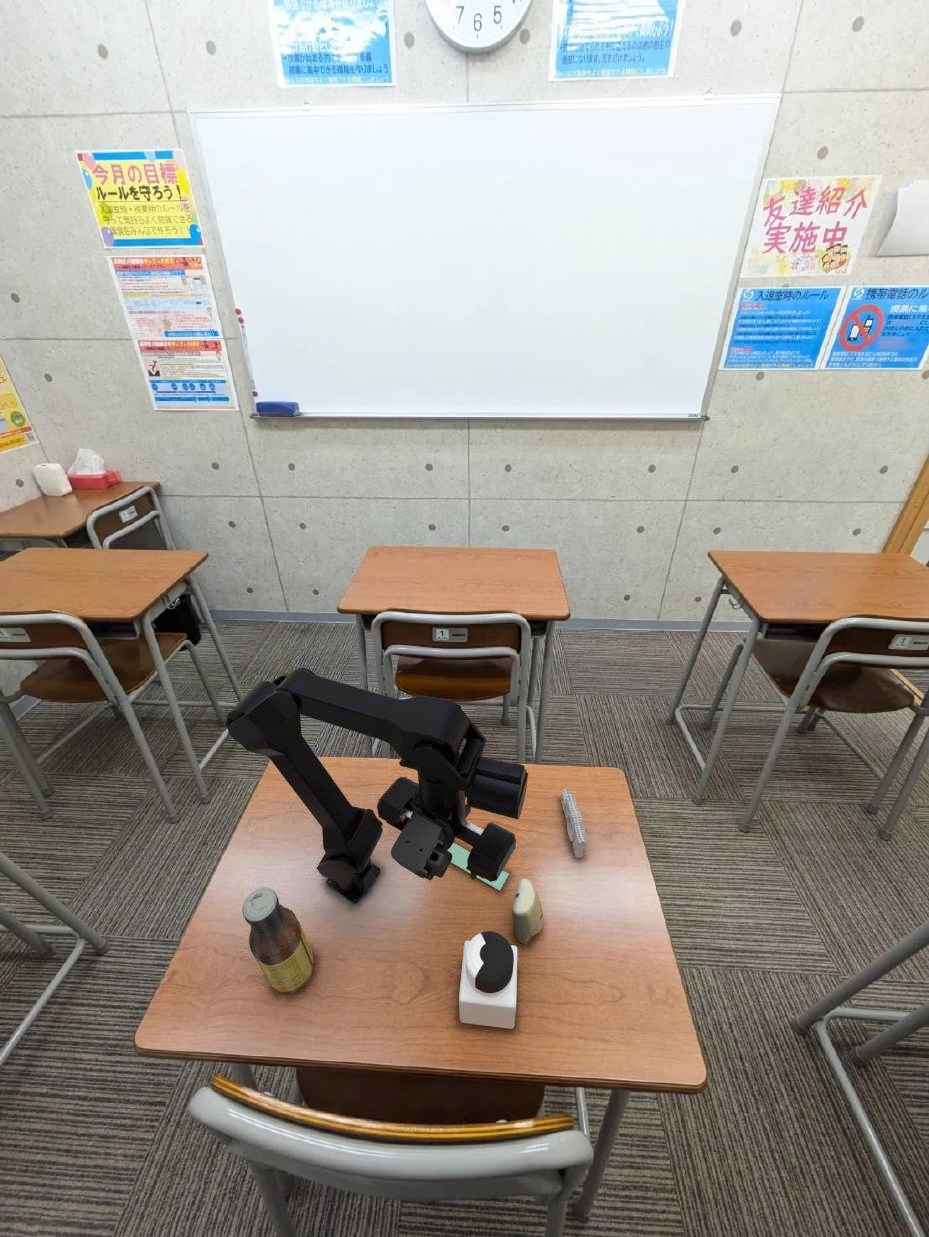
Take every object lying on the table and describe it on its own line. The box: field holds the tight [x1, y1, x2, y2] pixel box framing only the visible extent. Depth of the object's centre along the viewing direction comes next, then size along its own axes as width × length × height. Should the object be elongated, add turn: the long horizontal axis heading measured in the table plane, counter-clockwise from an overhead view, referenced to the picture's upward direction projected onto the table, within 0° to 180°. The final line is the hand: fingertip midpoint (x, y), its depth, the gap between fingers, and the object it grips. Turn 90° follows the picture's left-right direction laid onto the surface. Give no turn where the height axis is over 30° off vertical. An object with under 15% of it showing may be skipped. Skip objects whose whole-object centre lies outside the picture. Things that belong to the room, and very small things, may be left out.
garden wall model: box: [560, 788, 589, 859], centre depth 90 cm, size 12×2×6 cm, turn 3°
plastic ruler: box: [448, 842, 510, 892], centre depth 87 cm, size 15×3×1 cm, turn 58°
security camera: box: [458, 930, 518, 1030], centre depth 67 cm, size 7×7×12 cm
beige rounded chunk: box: [512, 877, 545, 945], centre depth 76 cm, size 6×5×8 cm
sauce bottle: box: [241, 886, 315, 995], centre depth 68 cm, size 6×6×20 cm
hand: (446, 860), depth 73 cm, fingers open, 9 cm apart
